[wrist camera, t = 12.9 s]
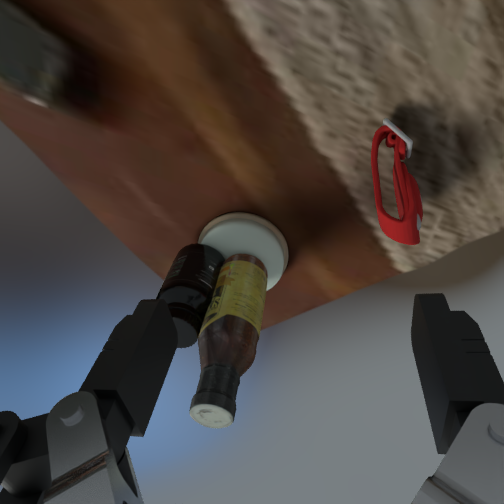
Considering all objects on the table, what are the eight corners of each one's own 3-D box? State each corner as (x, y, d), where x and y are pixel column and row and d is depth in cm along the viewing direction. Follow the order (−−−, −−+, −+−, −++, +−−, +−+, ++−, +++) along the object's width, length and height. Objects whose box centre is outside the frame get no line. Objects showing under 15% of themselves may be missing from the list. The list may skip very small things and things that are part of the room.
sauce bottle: (223, 246, 48) (176, 385, 32) (273, 256, 48) (251, 400, 32) (218, 285, 52) (174, 426, 36) (264, 294, 52) (241, 440, 36)
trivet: (283, 208, 47) (281, 219, 45) (293, 284, 54) (291, 297, 52) (188, 215, 50) (183, 225, 48) (209, 287, 56) (205, 299, 54)
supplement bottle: (239, 271, 51) (220, 342, 41) (199, 290, 54) (173, 361, 44) (205, 233, 48) (177, 300, 38) (165, 255, 51) (130, 323, 41)
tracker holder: (416, 211, 45) (436, 265, 37) (376, 219, 46) (387, 272, 38) (405, 107, 39) (427, 144, 31) (359, 119, 40) (368, 158, 32)
